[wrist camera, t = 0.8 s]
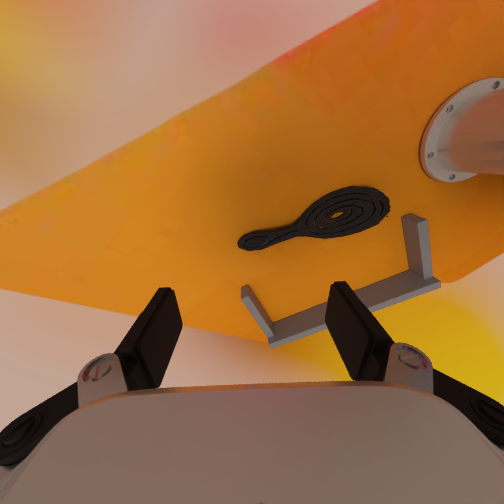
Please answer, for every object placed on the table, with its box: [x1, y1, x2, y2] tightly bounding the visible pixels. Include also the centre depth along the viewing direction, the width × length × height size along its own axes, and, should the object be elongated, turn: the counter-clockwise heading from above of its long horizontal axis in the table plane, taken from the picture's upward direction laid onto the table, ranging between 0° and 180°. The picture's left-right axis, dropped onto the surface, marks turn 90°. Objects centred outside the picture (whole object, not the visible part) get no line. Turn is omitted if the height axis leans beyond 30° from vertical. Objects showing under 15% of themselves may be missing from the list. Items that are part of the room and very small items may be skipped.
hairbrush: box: [237, 186, 390, 251], centre depth 32 cm, size 8×4×25 cm
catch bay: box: [241, 214, 441, 348], centre depth 36 cm, size 33×14×5 cm, turn 117°
